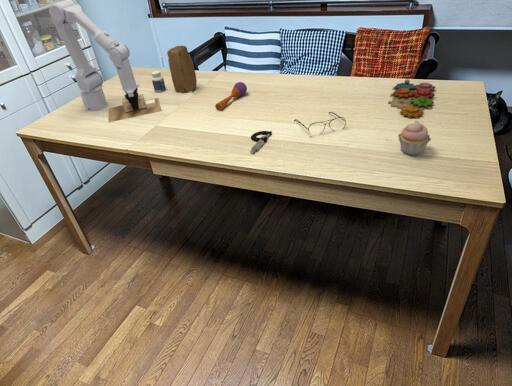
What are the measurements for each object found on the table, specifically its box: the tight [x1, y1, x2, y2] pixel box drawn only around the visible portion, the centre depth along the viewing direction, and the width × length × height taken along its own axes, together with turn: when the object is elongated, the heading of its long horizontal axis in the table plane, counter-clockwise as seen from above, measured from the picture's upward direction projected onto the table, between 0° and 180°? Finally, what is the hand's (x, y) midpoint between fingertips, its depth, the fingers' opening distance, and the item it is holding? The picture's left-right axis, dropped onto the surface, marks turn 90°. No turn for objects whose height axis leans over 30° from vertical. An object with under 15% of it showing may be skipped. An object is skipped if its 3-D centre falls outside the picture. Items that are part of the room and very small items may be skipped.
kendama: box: [214, 81, 248, 111], centre depth 158 cm, size 6×6×20 cm
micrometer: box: [249, 130, 273, 155], centre depth 128 cm, size 15×7×2 cm, turn 152°
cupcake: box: [397, 120, 432, 156], centre depth 112 cm, size 9×9×10 cm
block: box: [166, 45, 198, 94], centre depth 169 cm, size 11×8×20 cm
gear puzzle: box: [387, 79, 436, 119], centre depth 141 cm, size 31×16×4 cm, turn 157°
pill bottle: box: [151, 70, 167, 93], centre depth 174 cm, size 5×5×10 cm
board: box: [108, 97, 162, 123], centre depth 161 cm, size 22×16×1 cm
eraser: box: [145, 98, 156, 108], centre depth 161 cm, size 4×4×2 cm
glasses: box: [293, 111, 347, 135], centre depth 134 cm, size 14×15×5 cm
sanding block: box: [121, 93, 147, 113], centre depth 159 cm, size 9×4×5 cm, turn 108°
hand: (135, 107), depth 160 cm, fingers closed on sanding block, 4 cm apart
